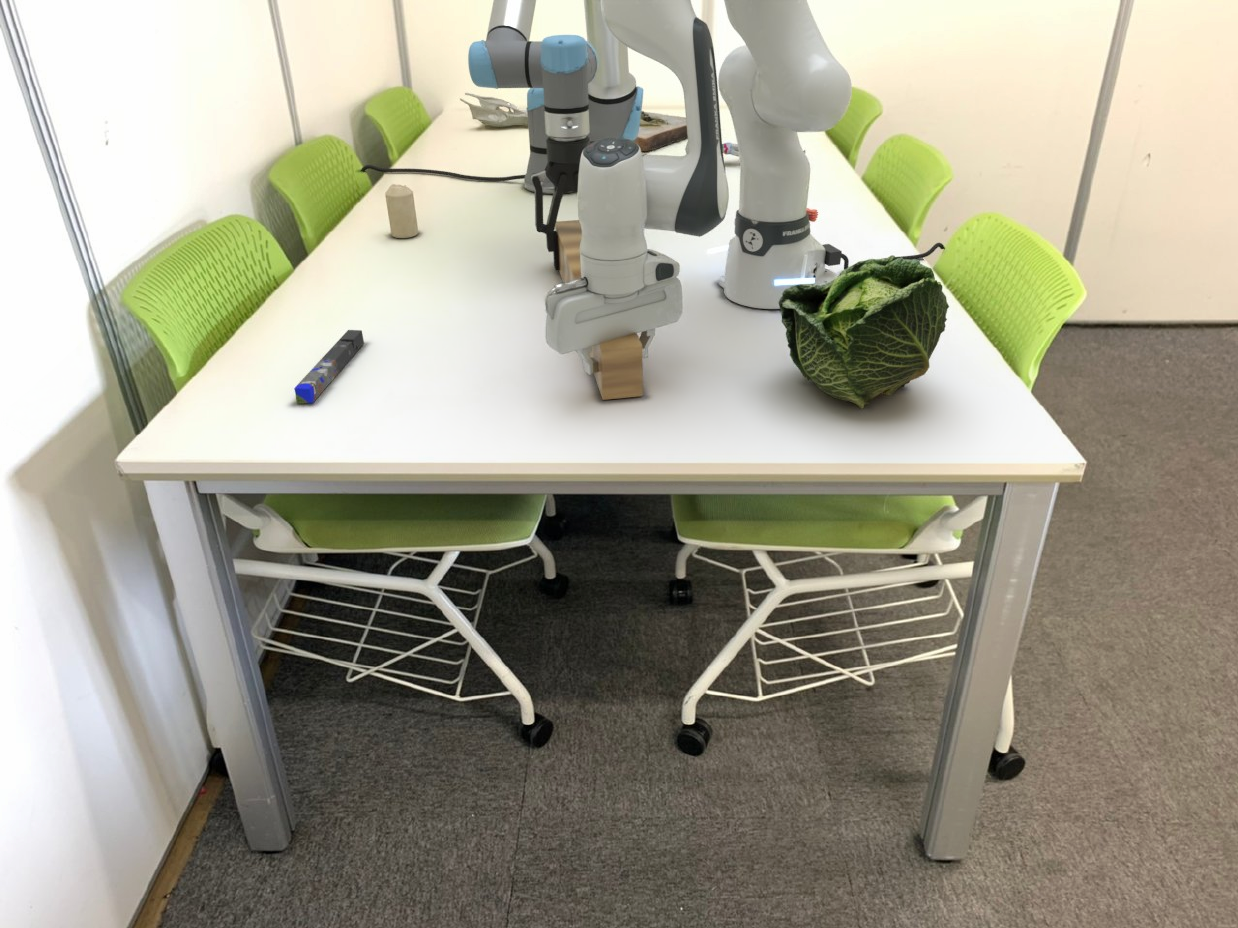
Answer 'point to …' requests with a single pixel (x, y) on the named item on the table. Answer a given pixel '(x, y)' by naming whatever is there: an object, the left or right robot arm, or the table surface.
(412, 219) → the candle
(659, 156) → the right robot arm
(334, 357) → the pillar
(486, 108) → the anatomical model
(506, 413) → the table surface
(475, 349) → the table surface
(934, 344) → the vegetable
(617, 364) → the beam
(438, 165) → the table surface
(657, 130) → the plaque
